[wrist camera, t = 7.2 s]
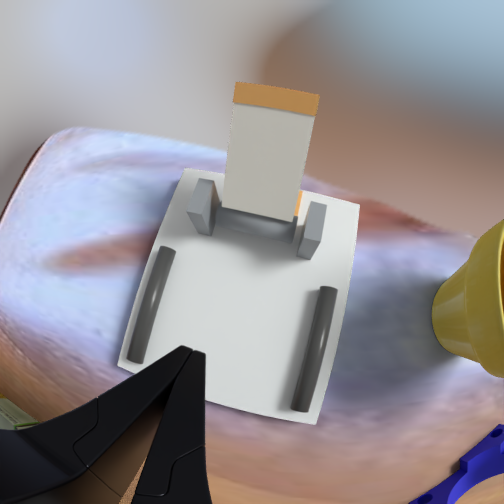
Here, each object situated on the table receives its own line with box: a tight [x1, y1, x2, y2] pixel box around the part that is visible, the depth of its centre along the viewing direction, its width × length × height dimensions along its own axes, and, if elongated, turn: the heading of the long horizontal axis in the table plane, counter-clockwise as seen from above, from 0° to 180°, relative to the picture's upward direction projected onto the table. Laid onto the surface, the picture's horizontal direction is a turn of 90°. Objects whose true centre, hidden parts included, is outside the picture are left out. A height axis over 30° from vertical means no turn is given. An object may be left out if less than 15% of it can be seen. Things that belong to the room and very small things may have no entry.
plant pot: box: [432, 219, 504, 378], centre depth 13 cm, size 10×10×10 cm
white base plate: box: [117, 168, 360, 425], centre depth 17 cm, size 16×14×5 cm
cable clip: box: [409, 424, 504, 504], centre depth 10 cm, size 12×4×6 cm, turn 107°
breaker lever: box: [216, 82, 319, 244], centre depth 16 cm, size 2×5×9 cm
